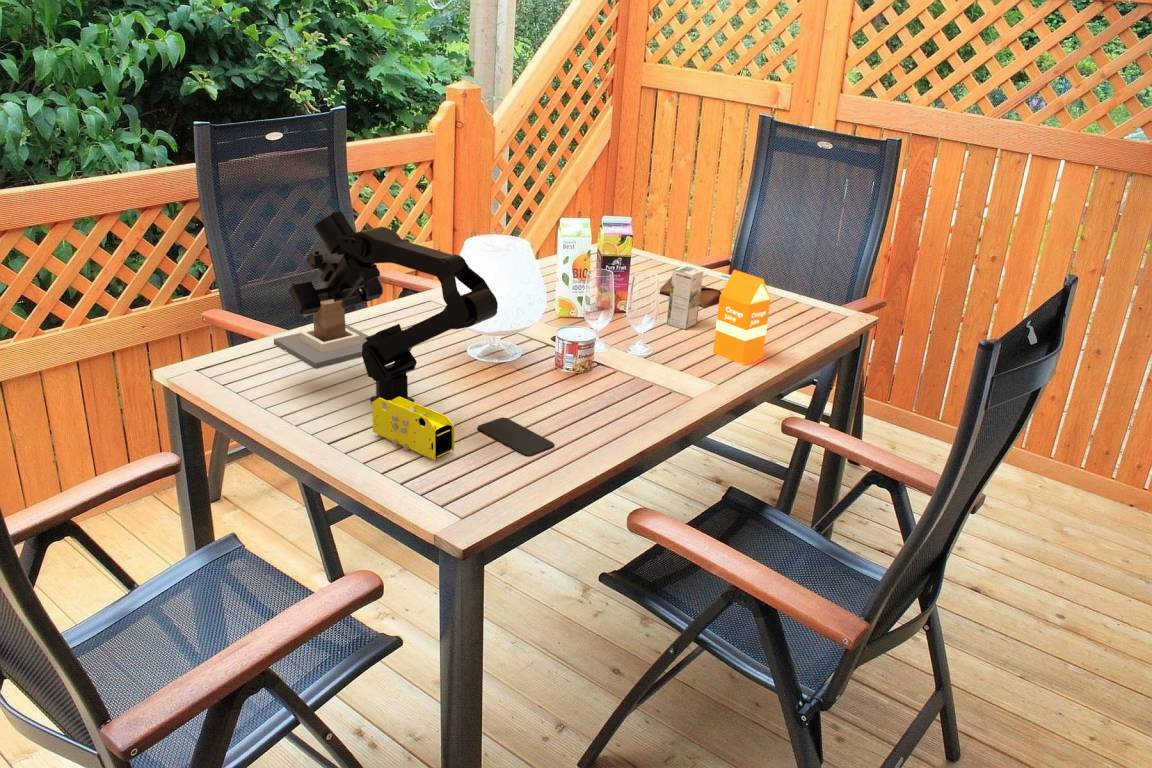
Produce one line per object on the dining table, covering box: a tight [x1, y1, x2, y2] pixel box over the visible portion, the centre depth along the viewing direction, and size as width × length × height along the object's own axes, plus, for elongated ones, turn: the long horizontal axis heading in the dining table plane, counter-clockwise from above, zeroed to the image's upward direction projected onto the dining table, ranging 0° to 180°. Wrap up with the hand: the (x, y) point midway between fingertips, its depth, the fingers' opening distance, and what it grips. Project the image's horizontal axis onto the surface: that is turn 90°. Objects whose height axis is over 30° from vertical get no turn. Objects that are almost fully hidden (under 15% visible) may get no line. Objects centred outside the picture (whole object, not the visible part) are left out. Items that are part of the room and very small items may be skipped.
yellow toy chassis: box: [371, 396, 455, 461], centre depth 174 cm, size 16×6×8 cm, turn 53°
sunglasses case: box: [659, 276, 722, 309], centre depth 265 cm, size 18×7×7 cm, turn 49°
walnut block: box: [312, 299, 346, 342], centre depth 214 cm, size 5×5×10 cm
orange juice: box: [712, 269, 771, 364], centre depth 222 cm, size 8×9×20 cm
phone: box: [477, 417, 555, 458], centre depth 180 cm, size 7×1×15 cm
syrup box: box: [666, 265, 704, 330], centre depth 241 cm, size 6×6×14 cm
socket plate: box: [273, 323, 370, 369], centre depth 216 cm, size 18×18×3 cm
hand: (323, 310), depth 199 cm, fingers open, 9 cm apart
